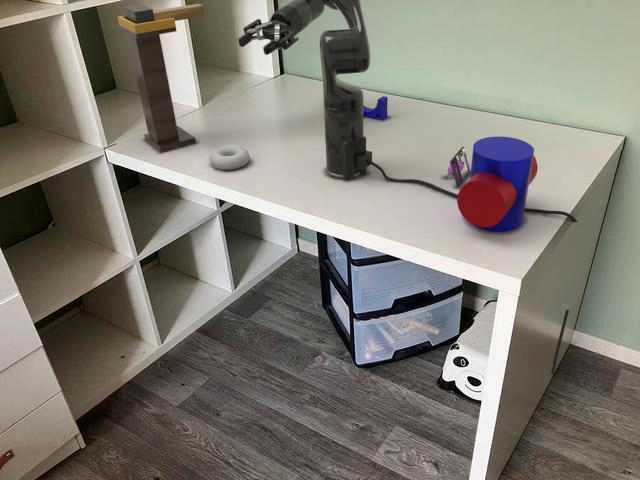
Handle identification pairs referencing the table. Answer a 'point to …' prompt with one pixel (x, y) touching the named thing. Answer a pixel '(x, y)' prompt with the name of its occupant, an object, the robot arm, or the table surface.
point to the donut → (229, 157)
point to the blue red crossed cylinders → (498, 183)
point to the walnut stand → (156, 91)
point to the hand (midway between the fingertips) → (252, 47)
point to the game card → (458, 167)
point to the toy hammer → (161, 13)
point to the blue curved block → (378, 109)
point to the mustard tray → (146, 25)
